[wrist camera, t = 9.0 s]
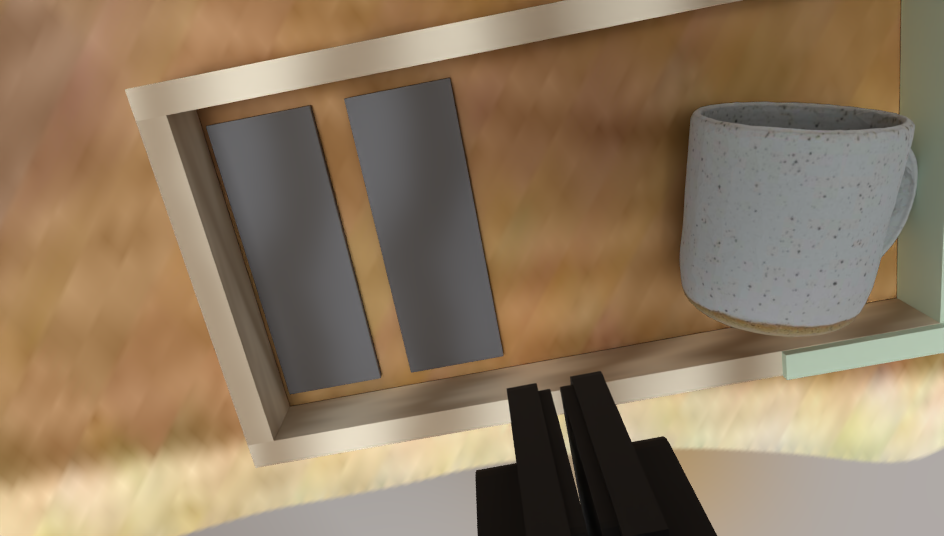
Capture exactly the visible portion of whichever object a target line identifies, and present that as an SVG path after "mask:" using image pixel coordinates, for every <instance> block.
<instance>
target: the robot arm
mask: <svg viewBox="0 0 944 536" xmlns="http://www.w3.org/2000/svg"><path fill="white" fill-rule="evenodd" d="M570 382H571V385H567V386H562V387H560V392H561V398H562V404H563V409H564V415H565V421H566V426H567V432H568V437H569V443H570V449H571V454H572V459H573V465H574V471H575V477H576V482H577V488H578V493H579V497H578V493H577V490H576V486H575V482H574V478H573V474H572V470H571V466H570V463H569V459H568V455H567V451H566V447H565V443H564V439H563V436H562V432H561V428H560V424H559V420H558V416H557V413H556V409H555V405H554V401H553V397H552V393H551V390H550V389H546V390H540V391H538V387H537V383H533V384H528V385H522V386H517V387H512V388H507V396H508V404H509V411H510V418H511V426H512V433H513V440H514V448H515V455H516V463H515V464H510V465H504V466H498V467H493V468H487V469H482V470H476V498H477V499H476V501H477V528H478V536H717V535H716V533H715V531H714V529H713V527H712V525H711V523H710V521H709V519H708V517H707V515H706V513H705V512H704V510H703V508H702V506H701V504H700V502H699V500H698V498H697V496H696V494H695V492H694V490H693V488H692V486H691V484H690V483H689V481H688V479H687V477H686V475H685V473H684V471H683V469H682V467H681V465H680V463H679V461H678V459H677V457H676V455H675V454H674V452H673V450H672V448H671V446H670V444H669V442H668V441H667V439H666V438H665V437H657V438H652V439H646V440H641V441H635V442H631V439H630V437H629V435H628V432H627V430H626V428H625V425H624V423H623V421H622V418H621V416H620V414H619V411H618V409H617V407H616V404H615V402H614V400H613V397H612V395H611V393H610V390H609V388H608V386H607V383H606V381H605V379H604V376H603V374H602V372H601V371H597V372H592V373H586V374H581V375H576V376H570ZM579 499H580V501H579ZM580 504H581V505H580Z"/></svg>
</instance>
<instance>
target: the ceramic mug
mask: <svg viewBox="0 0 944 536" xmlns="http://www.w3.org/2000/svg"><path fill="white" fill-rule="evenodd" d="M914 130H915V124H914V123H913V121H912V120H910V119H909V118H907V117H906V116H903V115H899V114H897V113H891V112H886V111H881V110H873V109H865V108H858V107H850V106H838V105H830V104H813V103H798V102H791V103H775V102H735V103H724V104H716V105H708V106H704V107H700V108H698V109H697V110H695V111H694V112H693V114H692V116H691V121H690V133H689V146H688V159H687V172H686V184H685V199H684V219H683V229H682V238H681V246H680V271H681V281H682V286H683V290H684V293H685V295H686V296H687V298H688V299H689V301H690V302H691V303H692V304H693V305H694V306H695V307H696V308H697V309H698V310H700V311H701V312H703V313H704V314H706V315H707V316H708V317H710V318H712V319H714V320H717V321H719V322H721V323H723V324H725V325H728V326H731V327H734V328H737V329H741V330H745V331H750V332H754V333H759V334H765V335H773V336H784V337H804V336H817V335H822V334H827V333H830V332H833V331H836V330H839V329H841V328H843V327H845V326H847V325H848V324H850V323H851V322H853V321H854V319H855V318H856V317H857V316H858V315H859V313H860V312H861V310H862V308H863V307H864V305H865V303H866V301H867V299H868V297H869V295H870V292H871V290H872V288H873V285H874V282H875V278H876V275H877V271H878V268H879V264H880V260H881V257H882V256H883V255H884V254H885V253H886V252H887V250H888V249H889V248H890V247H891V246H892V245H893V243H894V242H895V240H896V239H897V237H898V236H899V234H900V233H901V231H902V229H903V227H904V225H905V223H906V221H907V219H908V216H909V213H910V211H911V208H912V205H913V202H914V198H915V195H916V190H917V180H918V165H917V160H916V157H915V155H914V153H913V151H912V149H911V145H912V141H913V136H914Z"/></svg>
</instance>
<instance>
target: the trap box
mask: <svg viewBox="0 0 944 536" xmlns="http://www.w3.org/2000/svg"><path fill="white" fill-rule="evenodd" d="M736 1H741V0H565V1H560V2H555V3H550V4H545V5H540V6H535V7H530V8H525V9H520V10H515V11H511V12H506V13H501V14H496V15H491V16H486V17H481V18H476V19H471V20H466V21H461V22H456V23H451V24H446V25H441V26H436V27H431V28H426V29H422V30H417V31H412V32H407V33H402V34H397V35H392V36H387V37H382V38H377V39H372V40H367V41H362V42H357V43H352V44H347V45H342V46H337V47H333V48H328V49H323V50H318V51H313V52H308V53H303V54H298V55H293V56H288V57H283V58H278V59H273V60H268V61H263V62H258V63H253V64H248V65H244V66H239V67H234V68H229V69H224V70H219V71H214V72H209V73H204V74H199V75H194V76H189V77H184V78H179V79H174V80H169V81H164V82H159V83H155V84H150V85H145V86H140V87H135V88H130V89H125V91H126V94H127V97H128V100H129V103H130V106H131V109H132V112H133V115H134V117H135V120H136V123H137V126H138V129H139V132H140V135H141V138H142V141H143V143H144V146H145V149H146V152H147V155H148V158H149V161H150V164H151V167H152V169H153V172H154V175H155V178H156V181H157V184H158V187H159V190H160V193H161V196H162V198H163V201H164V204H165V207H166V210H167V213H168V216H169V219H170V222H171V224H172V227H173V230H174V233H175V236H176V239H177V242H178V245H179V248H180V250H181V253H182V256H183V259H184V262H185V265H186V268H187V271H188V274H189V277H190V279H191V282H192V285H193V288H194V291H195V294H196V297H197V300H198V303H199V305H200V308H201V311H202V314H203V317H204V320H205V323H206V326H207V329H208V331H209V334H210V337H211V340H212V343H213V346H214V349H215V352H216V355H217V358H218V360H219V363H220V366H221V369H222V372H223V375H224V378H225V381H226V384H227V386H228V389H229V392H230V395H231V398H232V401H233V404H234V407H235V410H236V412H237V415H238V418H239V421H240V424H241V427H242V430H243V433H244V436H245V439H246V441H247V444H248V447H249V450H250V453H251V456H252V459H253V462H254V465H255V467H256V468H257V467H263V466H269V465H274V464H280V463H286V462H292V461H297V460H303V459H309V458H314V457H320V456H326V455H331V454H337V453H343V452H349V451H354V450H360V449H366V448H371V447H377V446H383V445H389V444H394V443H400V442H406V441H411V440H417V439H423V438H428V437H434V436H440V435H446V434H451V433H457V432H463V431H468V430H474V429H480V428H485V427H491V426H497V425H503V424H508V423H511V418H510V411H509V404H508V396H507V388H512V387H517V386H522V385H528V384H533V383H537V387H538V391H540V390H546V389H550V390H551V393H552V397H553V401H554V405H555V409H556V413H557V415H560V414H564V409H563V404H562V398H561V392H560V387H562V386H567V385H571V382H570V376H576V375H581V374H586V373H592V372H597V371H601V372H602V374H603V376H604V379H605V381H606V383H607V386H608V388H609V390H610V393H611V395H612V397H613V400H614V402H615V404H616V405H617V404H622V403H628V402H634V401H639V400H645V399H651V398H657V397H662V396H668V395H674V394H679V393H685V392H691V391H697V390H702V389H708V388H714V387H719V386H725V385H731V384H736V383H742V382H748V381H754V380H759V379H765V378H771V377H776V376H782V375H783V367H782V351H787V350H793V349H798V348H804V347H810V346H815V345H821V344H827V343H832V342H838V341H844V340H849V339H855V338H861V337H866V336H872V335H878V334H883V333H889V332H895V331H900V330H906V329H911V328H917V327H923V326H928V325H934V324H940V323H939V322H937V321H936V320H934V319H932V318H931V317H929V316H927V315H925V314H924V313H922V312H920V311H918V310H917V309H915V308H913V307H912V306H910V305H908V304H906V303H905V302H903V301H901V300H900V299H898V298H894V299H888V300H883V301H877V302H871V303H866V304H865V305H864V307H863V308H862V310H861V312H860V313H859V315H858V316H857V317H856V318H855V319H854V321H853V322H851V323H850V324H848V325H847V326H845V327H843V328H841V329H839V330H836V331H833V332H830V333H827V334H822V335H817V336H804V337H784V336H773V335H765V334H759V333H754V332H750V331H745V330H741V329H737V328H734V327H732V328H726V329H721V330H715V331H709V332H704V333H698V334H693V335H687V336H681V337H676V338H670V339H665V340H659V341H654V342H648V343H642V344H637V345H631V346H626V347H620V348H614V349H609V350H603V351H598V352H592V353H587V354H581V355H575V356H570V357H564V358H559V359H553V360H547V361H542V362H536V363H531V364H525V365H519V366H514V367H508V368H503V369H497V370H492V371H486V372H480V373H475V374H469V375H464V376H458V377H452V378H447V379H441V380H436V381H430V382H424V383H419V384H413V385H408V386H402V387H397V388H391V389H385V390H380V391H374V392H369V393H363V394H357V395H352V396H346V397H341V398H335V399H330V400H324V401H318V402H313V403H307V404H302V405H296V406H289V402H288V399H287V396H286V393H285V390H284V387H283V383H282V380H281V377H280V374H279V371H278V368H277V364H276V361H275V358H274V355H273V352H272V349H271V345H270V342H269V339H268V336H267V333H266V330H265V326H264V323H263V320H262V317H261V314H260V311H259V307H258V304H257V301H256V298H255V295H254V291H253V288H252V285H251V282H250V279H249V276H248V272H247V269H246V266H245V263H244V260H243V257H242V253H241V250H240V247H239V244H238V241H237V238H236V234H235V231H234V228H233V225H232V222H231V219H230V215H229V212H228V209H227V206H226V203H225V200H224V196H223V193H222V190H221V187H220V184H219V181H218V177H217V174H216V171H215V168H214V165H213V162H212V158H211V155H210V152H209V149H208V146H207V143H206V139H205V136H204V133H203V130H202V127H201V123H200V120H199V117H198V114H197V111H196V109H201V108H206V107H211V106H216V105H221V104H226V103H231V102H236V101H241V100H246V99H251V98H256V97H261V96H266V95H271V94H276V93H281V92H286V91H291V90H296V89H301V88H306V87H311V86H316V85H321V84H326V83H331V82H336V81H341V80H346V79H351V78H356V77H361V76H366V75H371V74H376V73H381V72H386V71H391V70H396V69H401V68H406V67H411V66H416V65H421V64H426V63H431V62H436V61H441V60H446V59H451V58H456V57H461V56H466V55H471V54H476V53H481V52H486V51H491V50H496V49H501V48H506V47H511V46H516V45H521V44H526V43H531V42H536V41H541V40H546V39H551V38H556V37H561V36H566V35H571V34H576V33H581V32H586V31H591V30H596V29H601V28H606V27H611V26H616V25H621V24H626V23H631V22H636V21H641V20H646V19H651V18H656V17H661V16H666V15H671V14H676V13H681V12H686V11H691V10H696V9H701V8H706V7H711V6H716V5H721V4H726V3H731V2H736ZM344 100H345V104H346V108H347V112H348V116H349V121H350V125H351V129H352V133H353V137H354V141H355V145H356V149H357V153H358V157H359V161H360V166H361V170H362V174H363V178H364V182H365V186H366V190H367V194H368V198H369V202H370V206H371V210H372V215H373V219H374V223H375V227H376V231H377V235H378V239H379V243H380V247H381V251H382V255H383V260H384V264H385V268H386V272H387V276H388V280H389V284H390V288H391V292H392V296H393V300H394V304H395V309H396V313H397V317H398V321H399V325H400V329H401V333H402V337H403V341H404V345H405V349H406V354H407V358H408V362H409V366H410V370H411V373H412V372H417V371H423V370H428V369H434V368H440V367H445V366H451V365H456V364H462V363H467V362H473V361H478V360H484V359H490V358H495V357H501V356H503V350H502V345H501V340H500V335H499V330H498V324H497V319H496V314H495V309H494V304H493V299H492V293H491V288H490V283H489V278H488V273H487V268H486V262H485V257H484V252H483V247H482V242H481V237H480V231H479V226H478V221H477V216H476V211H475V206H474V200H473V195H472V190H471V185H470V180H469V175H468V169H467V164H466V159H465V154H464V149H463V144H462V138H461V133H460V128H459V123H458V118H457V112H456V107H455V102H454V97H453V92H452V87H451V81H450V78H446V79H441V80H436V81H431V82H426V83H421V84H416V85H410V86H405V87H400V88H395V89H390V90H385V91H380V92H375V93H370V94H365V95H360V96H355V97H350V98H345V99H344ZM206 129H207V132H208V135H209V138H210V141H211V144H212V148H213V151H214V154H215V157H216V160H217V164H218V167H219V170H220V173H221V176H222V180H223V183H224V186H225V189H226V192H227V196H228V199H229V202H230V205H231V208H232V211H233V215H234V218H235V221H236V224H237V227H238V231H239V234H240V237H241V240H242V243H243V247H244V250H245V253H246V256H247V259H248V263H249V266H250V269H251V272H252V275H253V278H254V282H255V285H256V288H257V291H258V294H259V298H260V301H261V304H262V307H263V310H264V314H265V317H266V320H267V323H268V326H269V330H270V333H271V336H272V339H273V342H274V345H275V349H276V352H277V355H278V358H279V361H280V365H281V368H282V371H283V374H284V377H285V381H286V384H287V387H288V390H289V393H290V394H295V393H300V392H306V391H312V390H317V389H323V388H328V387H334V386H339V385H345V384H351V383H356V382H362V381H367V380H373V379H378V378H381V372H380V368H379V364H378V360H377V357H376V353H375V349H374V345H373V341H372V337H371V334H370V330H369V326H368V322H367V318H366V314H365V311H364V307H363V303H362V299H361V295H360V291H359V288H358V284H357V280H356V276H355V272H354V268H353V265H352V261H351V257H350V253H349V249H348V246H347V242H346V238H345V234H344V230H343V226H342V223H341V219H340V215H339V211H338V207H337V203H336V200H335V196H334V192H333V188H332V184H331V180H330V177H329V173H328V169H327V165H326V161H325V157H324V154H323V150H322V146H321V142H320V138H319V134H318V131H317V127H316V123H315V119H314V115H313V111H312V108H311V105H310V106H305V107H300V108H295V109H290V110H285V111H280V112H275V113H270V114H265V115H260V116H254V117H249V118H244V119H239V120H234V121H229V122H224V123H219V124H214V125H209V126H206Z"/></svg>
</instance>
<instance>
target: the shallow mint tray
mask: <svg viewBox="0 0 944 536" xmlns="http://www.w3.org/2000/svg"><path fill="white" fill-rule="evenodd" d="M900 115H903V116H906V117H907V118H909V119H910V120H912V121H913V123H914V124H915V130H914V136H913V141H912V145H911V149H912V151H913V153H914V155H915V157H916V160H917V165H918V180H917V190H916V195H915V198H914V202H913V205H912V208H911V211H910V213H909V216H908V219H907V221H906V223H905V225H904V227H903V229H902V231H901V233H900V234H899V236H898V257H897V298H898V299H900V300H901V301H903V302H905V303H906V304H908V305H910V306H912V307H913V308H915V309H917V310H918V311H920V312H922V313H924V314H925V315H927V316H929V317H931V318H932V319H934V320H936V321H937V322H939V323H940V324H934V325H928V326H923V327H917V328H911V329H906V330H900V331H895V332H889V333H883V334H878V335H872V336H866V337H861V338H855V339H849V340H844V341H838V342H832V343H827V344H821V345H815V346H810V347H804V348H798V349H793V350H787V351H782V367H783V376H784V377H785V378H786V379H787V380H790V379H796V378H802V377H807V376H813V375H819V374H824V373H830V372H836V371H842V370H847V369H853V368H859V367H864V366H870V365H876V364H882V363H887V362H893V361H899V360H904V359H910V358H916V357H922V356H927V355H933V354H939V353H944V0H901V58H900Z"/></svg>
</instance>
